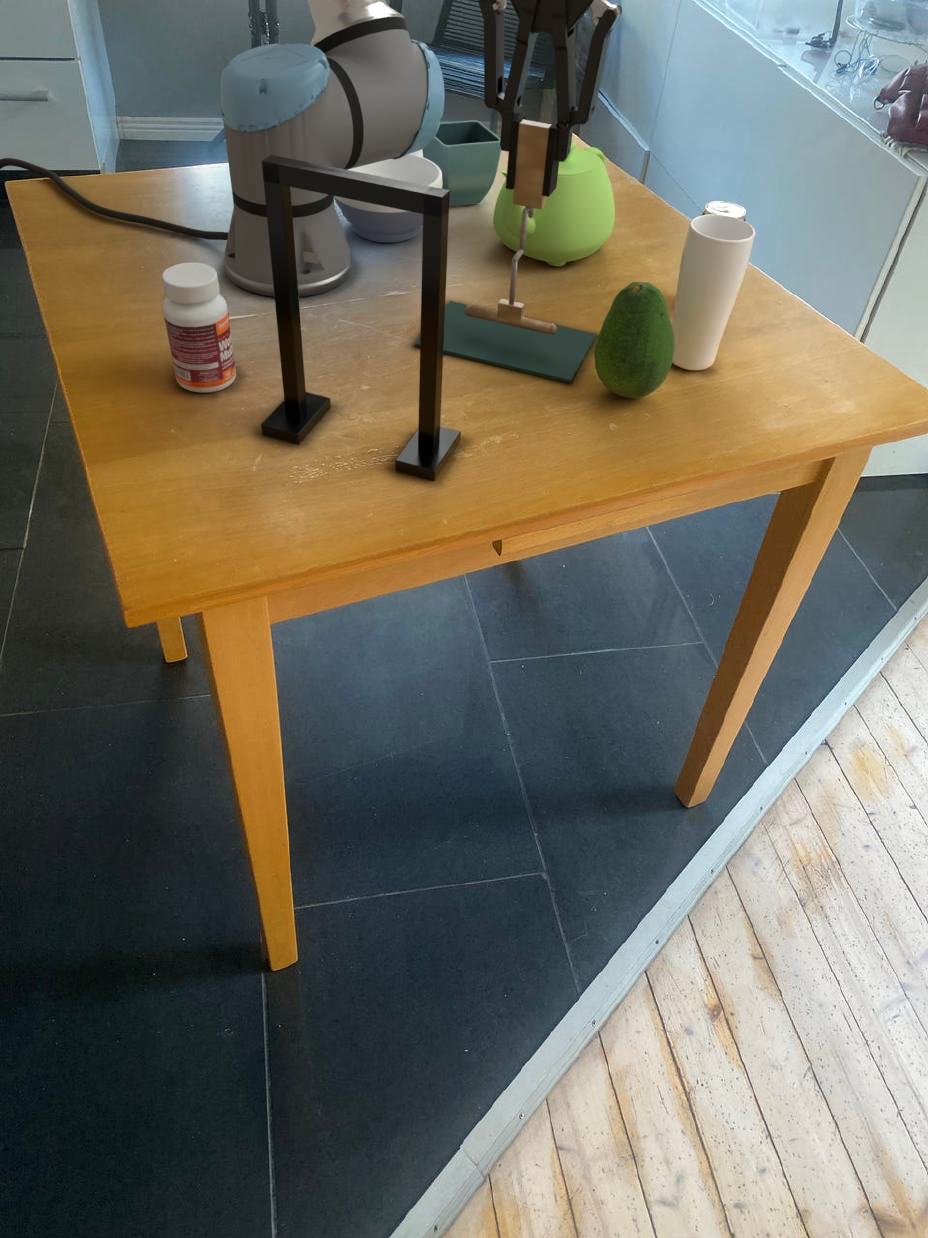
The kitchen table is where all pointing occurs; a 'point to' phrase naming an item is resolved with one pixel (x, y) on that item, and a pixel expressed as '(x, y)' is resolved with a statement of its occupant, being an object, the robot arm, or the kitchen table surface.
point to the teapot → (563, 212)
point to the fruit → (635, 342)
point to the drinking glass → (708, 286)
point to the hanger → (523, 222)
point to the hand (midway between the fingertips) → (531, 187)
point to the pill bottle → (198, 328)
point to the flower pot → (465, 159)
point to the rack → (299, 406)
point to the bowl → (386, 220)
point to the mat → (515, 345)
